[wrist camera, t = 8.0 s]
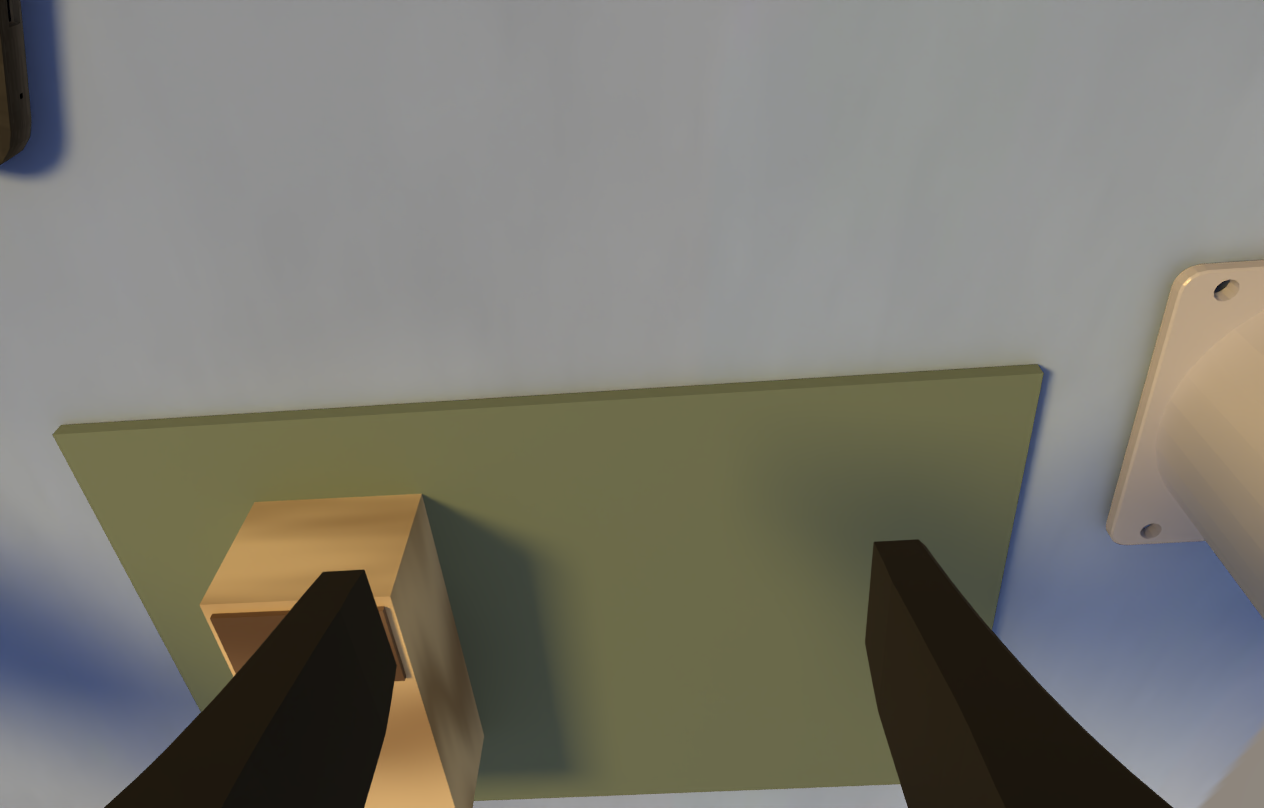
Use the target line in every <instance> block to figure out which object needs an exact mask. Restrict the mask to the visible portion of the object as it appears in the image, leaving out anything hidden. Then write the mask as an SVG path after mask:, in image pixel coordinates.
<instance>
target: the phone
mask: <svg viewBox="0 0 1264 808" xmlns="http://www.w3.org/2000/svg"><path fill="white" fill-rule="evenodd" d="M9 3H10V13H11V21H10V22H9V19H8V9H7V0H0V165H1V164H2V163H4V162H5V161H7V160H9V159H10V158H12V157H13V156H15V155H16V154H18V153H19V152H20V151H22V150H23V149H24V147H25V145H26V143H27V142H28V140H29V138H30V132H31V111H30V100H29V89H28V78H27V67H26V56H25V46H24V35H23V24H22V13H21V2H20V0H9ZM21 93H23V98H22V99H20V94H21Z"/></svg>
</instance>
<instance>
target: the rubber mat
mask: <svg viewBox="0 0 1264 808" xmlns="http://www.w3.org/2000/svg"><path fill="white" fill-rule="evenodd" d="M1043 374H1044V373H1043V372H1042V370H1041V369H1040V367H1039V366H1038V364H1034V365H1018V366H1002V367H986V368H970V369H954V370H938V371H922V372H906V373H890V374H874V375H858V376H842V377H826V378H810V379H794V380H778V381H762V382H746V383H730V384H714V385H698V386H682V387H666V388H650V389H634V390H618V391H602V392H586V393H570V394H554V395H538V396H522V397H506V398H490V399H474V400H458V401H442V402H426V403H410V404H394V405H378V406H362V407H346V408H330V409H314V410H298V411H282V412H266V413H250V414H234V415H218V416H202V417H186V418H170V419H154V420H138V421H122V422H106V423H90V424H74V425H61V426H60V427H59V428H58V429H57V430H56V431H55V432H54V434H53V437H54V438H55V440H56V442H57V444H58V446H59V448H60V450H61V452H62V453H63V455H64V457H65V459H66V461H67V463H68V465H69V466H70V468H71V470H72V472H73V474H74V476H75V478H76V480H77V481H78V483H79V485H80V487H81V489H82V491H83V493H84V494H85V496H86V498H87V500H88V502H89V504H90V506H91V508H92V509H93V511H94V513H95V515H96V517H97V519H98V521H99V522H100V524H101V526H102V528H103V530H104V532H105V534H106V536H107V537H108V539H109V541H110V543H111V545H112V547H113V549H114V550H115V552H116V554H117V556H118V558H119V560H120V562H121V564H122V565H123V567H124V569H125V571H126V573H127V575H128V577H129V578H130V580H131V582H132V584H133V586H134V588H135V590H136V592H137V593H138V595H139V597H140V599H141V601H142V603H143V605H144V606H145V608H146V610H147V612H148V614H149V616H150V618H151V620H152V621H153V623H154V625H155V627H156V629H157V631H158V633H159V634H160V636H161V638H162V640H163V642H164V644H165V646H166V648H167V649H168V651H169V653H170V655H171V657H172V659H173V661H174V662H175V664H176V666H177V668H178V670H179V672H180V674H181V676H182V677H183V679H184V681H185V683H186V685H187V687H188V689H189V690H190V692H191V694H192V696H193V698H194V700H195V702H196V704H197V705H198V707H199V709H200V711H201V712H202V711H203V710H204V709H205V708H206V707H207V706H208V705H209V704H210V702H211V701H212V700H213V699H214V698H215V697H216V696H217V695H218V694H219V693H220V691H221V690H222V689H223V688H224V687H225V686H226V685H227V683H228V682H229V681H230V680H231V679H232V678H233V675H232V672H231V670H230V668H229V666H228V664H227V662H226V660H225V658H224V656H223V653H222V651H221V649H220V647H219V645H218V643H217V641H216V639H215V637H214V635H213V632H212V630H211V628H210V626H209V624H208V622H207V620H206V618H205V616H204V613H203V611H202V609H201V607H200V603H201V601H202V599H203V597H204V595H205V594H206V592H207V590H208V588H209V586H210V584H211V582H212V581H213V579H214V577H215V575H216V573H217V571H218V569H219V567H220V566H221V564H222V562H223V560H224V558H225V556H226V554H227V553H228V551H229V549H230V547H231V545H232V543H233V541H234V539H235V538H236V536H237V534H238V532H239V530H240V528H241V526H242V524H243V523H244V521H245V519H246V517H247V515H248V513H249V511H250V510H251V508H252V506H253V504H254V502H265V501H285V500H305V499H325V498H345V497H365V496H385V495H405V494H422V497H423V501H424V504H425V508H426V512H427V516H428V520H429V524H430V528H431V532H432V535H433V539H434V543H435V547H436V551H437V555H438V559H439V563H440V567H441V570H442V574H443V578H444V582H445V586H446V590H447V594H448V598H449V601H450V605H451V609H452V613H453V617H454V621H455V625H456V629H457V633H458V636H459V640H460V644H461V648H462V652H463V656H464V660H465V664H466V667H467V671H468V675H469V679H470V683H471V687H472V691H473V695H474V699H475V702H476V706H477V710H478V714H479V718H480V722H481V726H482V730H483V733H484V740H483V746H482V752H481V758H480V764H479V770H478V777H477V783H476V789H475V795H474V801H485V800H510V799H535V798H560V797H586V796H611V795H636V794H662V793H687V792H712V791H737V790H763V789H788V788H813V787H838V786H864V785H889V784H900V781H899V778H898V774H897V771H896V768H895V765H894V762H893V758H892V755H891V752H890V749H889V746H888V742H887V739H886V736H885V733H884V729H883V726H882V723H881V720H880V716H879V713H878V709H877V704H876V699H875V694H874V689H873V684H872V678H871V673H870V668H869V662H868V657H867V651H866V646H865V635H866V624H867V612H868V601H869V589H870V578H871V566H872V554H873V543H874V542H878V541H896V540H915V539H918V540H920V541H921V542H922V543H923V544H924V545H925V546H926V547H927V548H928V550H929V551H930V553H931V554H932V555H933V557H934V558H935V559H936V561H937V562H938V563H939V565H940V566H941V567H942V569H943V570H944V571H945V573H946V574H947V575H948V577H949V578H950V579H951V581H952V582H953V583H954V584H955V586H956V587H957V588H958V590H959V591H960V592H961V593H962V595H963V596H964V597H965V598H966V600H967V601H968V602H969V603H970V605H971V606H972V607H973V608H974V610H975V611H976V612H977V613H978V615H979V616H980V617H981V618H982V619H983V621H984V622H985V623H986V624H987V625H988V627H989V628H990V629H991V630H992V627H993V622H994V617H995V612H996V607H997V602H998V597H999V592H1000V587H1001V582H1002V577H1003V572H1004V567H1005V562H1006V557H1007V552H1008V547H1009V542H1010V538H1011V533H1012V528H1013V523H1014V518H1015V513H1016V508H1017V503H1018V498H1019V493H1020V488H1021V483H1022V478H1023V473H1024V468H1025V463H1026V458H1027V453H1028V448H1029V443H1030V438H1031V433H1032V428H1033V423H1034V418H1035V413H1036V408H1037V403H1038V399H1039V394H1040V389H1041V384H1042V379H1043Z"/></svg>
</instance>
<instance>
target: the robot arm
mask: <svg viewBox="0 0 1264 808" xmlns="http://www.w3.org/2000/svg"><path fill="white" fill-rule="evenodd" d="M1229 279H1230V282H1229V283H1228V285H1227V287H1225V288H1224V289H1223V290H1221V291H1219V292H1216V293H1214V290H1215V289H1216V287H1217V285H1219V284H1220V283H1222V282H1223V281H1226V280H1229ZM1148 524H1152V525H1150V526H1148V527H1146V528H1143V527H1145V526H1146V525H1148ZM1106 530H1107V532H1108V534H1109V535H1110V537H1111V538H1112V540H1113V541H1114V542H1115V543H1117V544H1120V545H1137V544H1156V543H1175V542H1194V541H1206V542H1207V543H1208V545H1209V546H1210V547H1211V549H1212V550H1213V551H1214V553H1215V554H1216V555H1217V557H1218V558H1219V559H1220V561H1221V562H1222V563H1223V565H1224V566H1225V568H1226V569H1227V570H1228V572H1229V573H1230V574H1231V576H1232V577H1233V578H1234V580H1235V581H1236V582H1237V584H1238V585H1239V586H1240V588H1241V589H1242V590H1243V592H1244V593H1245V595H1246V596H1247V597H1248V599H1249V600H1250V601H1251V603H1252V604H1253V605H1254V607H1255V608H1256V609H1257V611H1258V612H1259V613H1260V615H1261V616H1262V617H1263V619H1264V260H1255V261H1240V262H1225V263H1210V264H1199V265H1195V266H1191V267H1189V268H1188V269H1186V270H1184V271H1182V272H1181V273H1180V274H1179V276H1178V277H1177V278H1176V279H1175V281H1174V283H1173V285H1172V287H1171V291H1170V294H1169V298H1168V302H1167V305H1166V309H1165V312H1164V316H1163V320H1162V323H1161V327H1160V331H1159V334H1158V338H1157V341H1156V345H1155V349H1154V352H1153V356H1152V360H1151V363H1150V367H1149V370H1148V374H1147V378H1146V381H1145V385H1144V388H1143V392H1142V396H1141V399H1140V403H1139V407H1138V410H1137V414H1136V417H1135V421H1134V425H1133V428H1132V432H1131V435H1130V439H1129V443H1128V446H1127V450H1126V454H1125V457H1124V461H1123V464H1122V468H1121V472H1120V475H1119V479H1118V483H1117V486H1116V490H1115V493H1114V497H1113V501H1112V504H1111V508H1110V511H1109V515H1108V519H1107V522H1106ZM865 646H866V651H867V657H868V662H869V668H870V673H871V678H872V684H873V689H874V694H875V699H876V704H877V709H878V713H879V716H880V720H881V723H882V726H883V729H884V733H885V736H886V739H887V742H888V746H889V749H890V752H891V755H892V758H893V762H894V765H895V768H896V771H897V774H898V778H899V781H900V784H901V787H902V790H903V793H904V797H905V800H906V803H907V806H908V808H1173V807H1172V806H1170V805H1169V804H1168V803H1167V802H1166V801H1165V800H1163V799H1162V798H1161V797H1160V796H1159V795H1157V794H1156V793H1155V792H1154V791H1153V790H1152V789H1150V788H1149V787H1148V786H1147V785H1146V784H1144V783H1143V782H1142V781H1141V780H1140V779H1139V778H1137V777H1136V776H1135V775H1134V774H1133V773H1132V772H1130V771H1129V770H1128V769H1127V768H1126V767H1125V766H1124V765H1123V764H1122V763H1120V762H1119V761H1118V760H1117V759H1116V758H1115V757H1114V756H1113V755H1112V754H1110V753H1109V752H1108V751H1107V750H1106V749H1105V748H1104V747H1103V746H1102V745H1101V744H1099V743H1098V742H1097V741H1096V740H1095V739H1094V738H1093V737H1092V736H1091V735H1090V734H1089V733H1088V732H1087V731H1086V730H1085V729H1084V728H1083V727H1082V726H1081V725H1080V724H1079V723H1078V722H1077V721H1075V720H1074V719H1073V718H1072V717H1071V716H1070V715H1069V714H1068V713H1067V712H1066V711H1065V710H1064V709H1063V707H1062V706H1061V705H1060V704H1059V703H1058V702H1057V701H1056V700H1055V699H1054V698H1053V697H1052V696H1051V695H1050V694H1049V693H1048V692H1047V691H1046V690H1045V689H1044V688H1043V687H1042V686H1041V685H1040V684H1039V683H1038V682H1037V681H1036V679H1035V678H1034V677H1033V676H1032V675H1031V674H1030V673H1029V672H1028V671H1027V670H1026V669H1025V668H1024V667H1023V665H1022V664H1021V663H1020V662H1019V661H1018V660H1017V659H1016V657H1015V656H1014V655H1013V654H1012V653H1011V652H1010V651H1009V650H1008V648H1007V647H1006V646H1005V645H1004V644H1003V643H1002V642H1001V640H1000V639H999V638H998V637H997V636H996V635H995V634H994V632H993V631H992V630H991V629H990V628H989V627H988V625H987V624H986V623H985V622H984V621H983V619H982V618H981V617H980V616H979V615H978V613H977V612H976V611H975V610H974V608H973V607H972V606H971V605H970V603H969V602H968V601H967V600H966V598H965V597H964V596H963V595H962V593H961V592H960V591H959V590H958V588H957V587H956V586H955V584H954V583H953V582H952V581H951V579H950V578H949V577H948V575H947V574H946V573H945V571H944V570H943V569H942V567H941V566H940V565H939V563H938V562H937V561H936V559H935V558H934V557H933V555H932V554H931V553H930V551H929V550H928V548H927V547H926V546H925V545H924V544H923V543H922V542H921V541H920V540H918V539H915V540H896V541H878V542H874V543H873V554H872V566H871V578H870V589H869V601H868V612H867V624H866V635H865ZM396 668H397V664H396V661H395V658H394V655H393V652H392V649H391V646H390V644H389V641H388V638H387V635H386V632H385V629H384V626H383V623H382V620H381V617H380V614H379V611H378V608H377V605H376V602H375V599H374V596H373V593H372V590H371V587H370V584H369V581H368V578H367V575H366V573H365V570H345V571H327V572H322V573H321V575H320V576H319V577H318V578H317V579H316V580H315V581H314V582H313V584H312V585H311V586H310V587H309V588H308V589H307V591H306V592H305V593H304V594H303V595H302V597H301V598H300V599H299V600H298V601H297V603H296V604H295V605H294V606H293V607H292V608H291V610H290V611H289V612H288V613H287V615H286V616H285V617H284V618H283V619H282V621H281V622H280V623H279V624H278V625H277V627H276V628H275V629H274V630H273V631H272V632H271V634H270V635H269V636H268V637H267V638H266V640H265V641H264V642H263V643H262V644H261V646H260V647H259V648H258V649H257V650H256V651H255V653H254V654H253V655H252V656H251V657H250V658H249V659H248V661H247V662H246V663H245V664H244V665H243V666H242V667H241V669H240V670H239V671H238V672H237V673H236V674H235V675H234V677H233V678H232V679H231V680H230V681H229V682H228V683H227V685H226V686H225V687H224V688H223V689H222V690H221V691H220V693H219V694H218V695H217V696H216V697H215V698H214V699H213V700H212V701H211V702H210V704H209V705H208V706H207V707H206V708H205V709H204V710H203V711H202V712H201V713H200V714H199V715H198V716H197V717H196V718H195V719H194V720H193V721H192V723H191V724H190V725H189V726H188V727H187V728H186V729H185V730H184V731H183V732H182V733H181V734H180V735H179V736H178V737H177V738H176V739H175V740H174V742H173V743H172V744H171V745H170V746H169V747H168V748H167V749H166V750H165V751H164V752H163V753H162V754H161V755H160V756H159V757H158V758H157V759H156V760H155V761H154V762H153V763H152V764H151V765H150V766H149V767H148V768H147V769H146V770H145V771H143V772H142V773H141V774H140V775H139V776H138V777H137V778H136V779H135V780H134V781H133V782H132V783H131V784H130V785H128V786H127V787H126V788H125V789H124V790H123V791H122V792H121V793H120V794H119V795H117V796H116V797H115V798H114V799H113V800H112V801H111V802H110V803H109V804H108V805H106V806H105V807H104V808H364V807H365V803H366V800H367V797H368V793H369V790H370V787H371V783H372V780H373V776H374V773H375V769H376V766H377V763H378V759H379V756H380V752H381V749H382V745H383V742H384V738H385V734H386V729H387V724H388V718H389V712H390V707H391V701H392V694H393V688H394V681H395V674H396Z"/></svg>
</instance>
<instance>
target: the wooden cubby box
mask: <svg viewBox="0 0 1264 808" xmlns="http://www.w3.org/2000/svg"><path fill="white" fill-rule="evenodd" d="M345 570H365V573H366V575H367V578H368V581H369V584H370V587H371V590H372V593H373V596H374V599H375V602H376V605H377V608H378V611H379V614H380V617H381V620H382V623H383V626H384V629H385V632H386V635H387V638H388V641H389V644H390V646H391V649H392V652H393V655H394V658H395V661H396V664H397V668H396V674H395V681H394V688H393V694H392V701H391V707H390V712H389V718H388V724H387V729H386V734H385V738H384V742H383V745H382V749H381V752H380V756H379V759H378V763H377V766H376V769H375V773H374V776H373V780H372V783H371V787H370V790H369V793H368V797H367V800H366V803H365V807H364V808H472V807H473V801H474V795H475V789H476V783H477V777H478V770H479V764H480V758H481V752H482V746H483V740H484V733H483V730H482V726H481V722H480V718H479V714H478V710H477V706H476V702H475V699H474V695H473V691H472V687H471V683H470V679H469V675H468V671H467V667H466V664H465V660H464V656H463V652H462V648H461V644H460V640H459V636H458V633H457V629H456V625H455V621H454V617H453V613H452V609H451V605H450V601H449V598H448V594H447V590H446V586H445V582H444V578H443V574H442V570H441V567H440V563H439V559H438V555H437V551H436V547H435V543H434V539H433V535H432V532H431V528H430V524H429V520H428V516H427V512H426V508H425V504H424V501H423V497H422V494H405V495H385V496H365V497H345V498H325V499H305V500H285V501H265V502H254V504H253V506H252V508H251V510H250V511H249V513H248V515H247V517H246V519H245V521H244V523H243V524H242V526H241V528H240V530H239V532H238V534H237V536H236V538H235V539H234V541H233V543H232V545H231V547H230V549H229V551H228V553H227V554H226V556H225V558H224V560H223V562H222V564H221V566H220V567H219V569H218V571H217V573H216V575H215V577H214V579H213V581H212V582H211V584H210V586H209V588H208V590H207V592H206V594H205V595H204V597H203V599H202V601H201V603H200V607H201V609H202V611H203V613H204V616H205V618H206V620H207V622H208V624H209V626H210V628H211V630H212V632H213V635H214V637H215V639H216V641H217V643H218V645H219V647H220V649H221V651H222V653H223V656H224V658H225V660H226V662H227V664H228V666H229V668H230V670H231V672H232V675H233V677H234V675H235V674H236V673H237V672H238V671H239V670H240V669H241V667H242V666H243V665H244V664H245V663H246V662H247V661H248V659H249V658H250V657H251V656H252V655H253V654H254V653H255V651H256V650H257V649H258V648H259V647H260V646H261V644H262V643H263V642H264V641H265V640H266V638H267V637H268V636H269V635H270V634H271V632H272V631H273V630H274V629H275V628H276V627H277V625H278V624H279V623H280V622H281V621H282V619H283V618H284V617H285V616H286V615H287V613H288V612H289V611H290V610H291V608H292V607H293V606H294V605H295V604H296V603H297V601H298V600H299V599H300V598H301V597H302V595H303V594H304V593H305V592H306V591H307V589H308V588H309V587H310V586H311V585H312V584H313V582H314V581H315V580H316V579H317V578H318V577H319V576H320V575H321V573H322V572H327V571H345Z"/></svg>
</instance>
